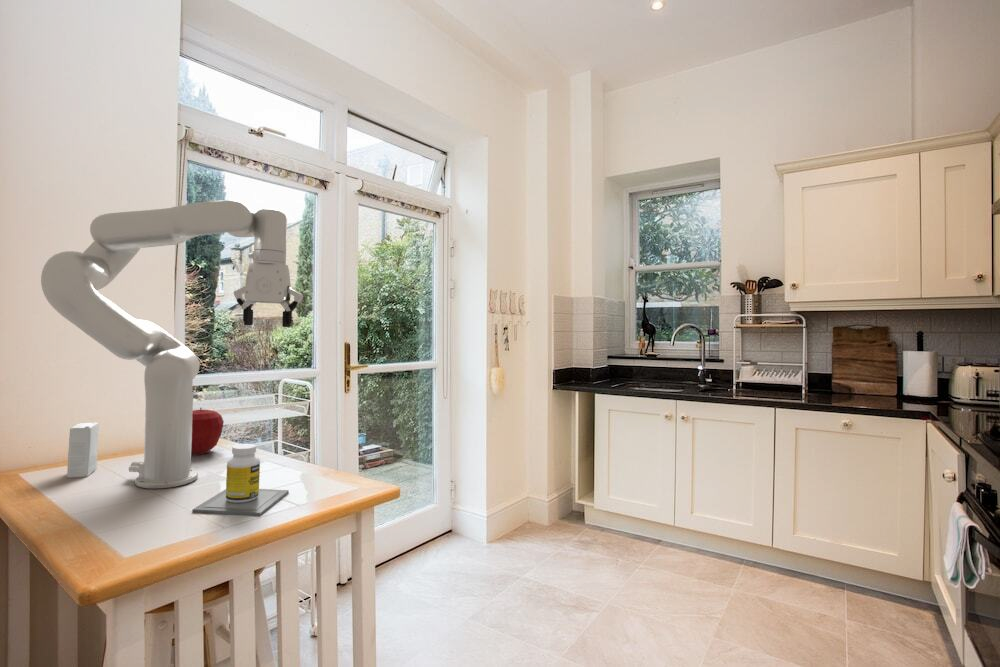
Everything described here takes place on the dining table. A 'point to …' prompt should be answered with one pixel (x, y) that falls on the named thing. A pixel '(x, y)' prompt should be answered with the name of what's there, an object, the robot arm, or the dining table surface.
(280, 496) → the coaster
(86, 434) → the skincare box
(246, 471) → the pill bottle
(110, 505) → the dining table surface
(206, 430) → the apple
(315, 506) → the dining table surface
